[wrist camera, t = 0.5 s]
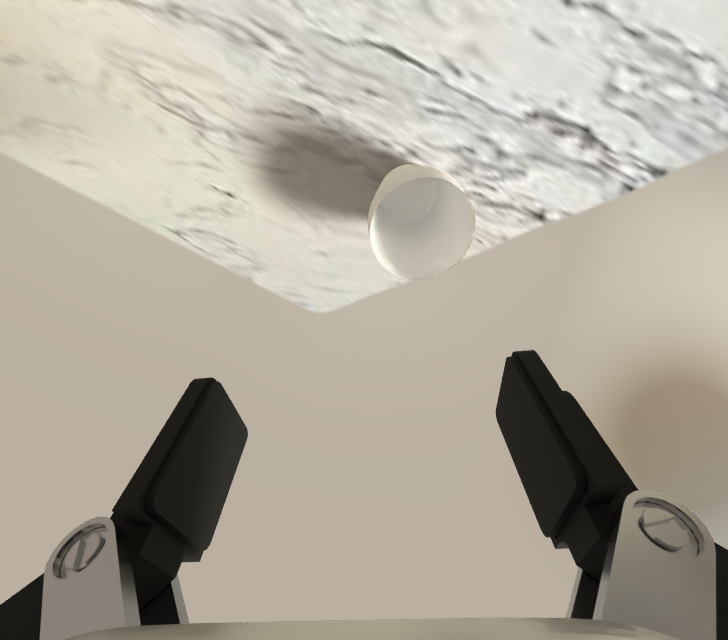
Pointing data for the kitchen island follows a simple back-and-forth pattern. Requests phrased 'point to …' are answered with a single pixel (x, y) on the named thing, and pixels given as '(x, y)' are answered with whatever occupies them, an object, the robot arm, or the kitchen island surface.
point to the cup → (420, 222)
